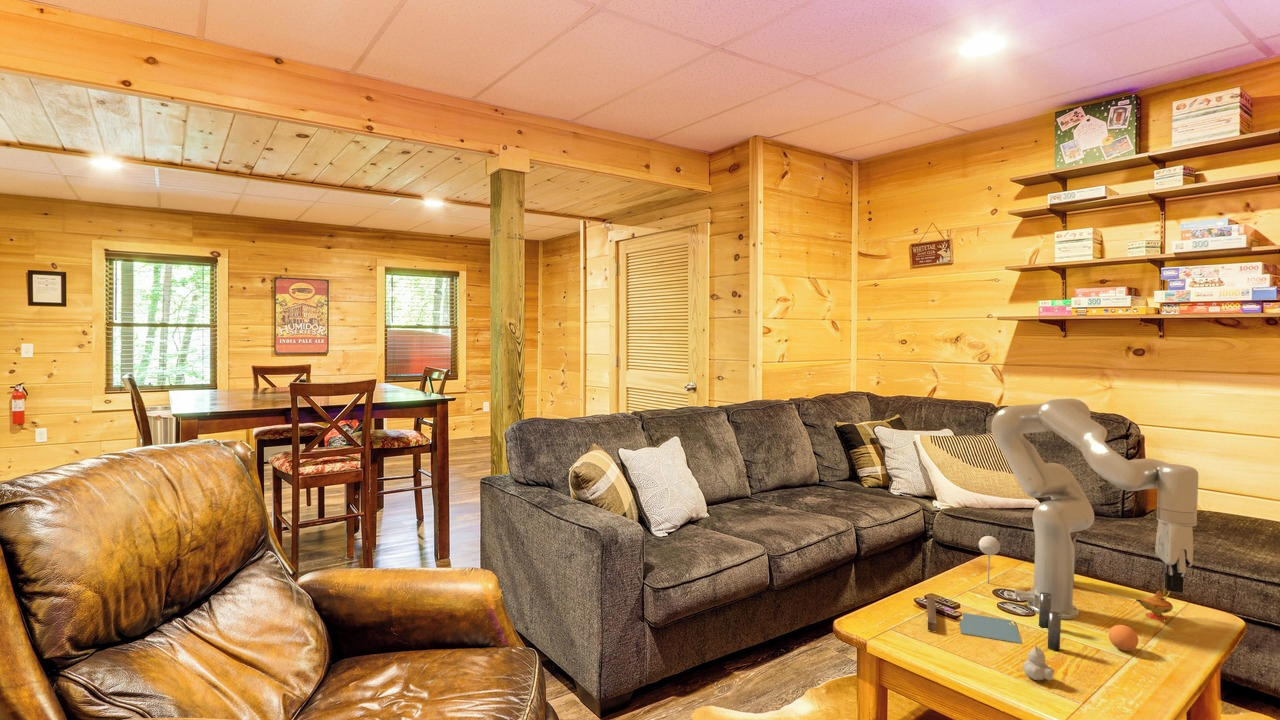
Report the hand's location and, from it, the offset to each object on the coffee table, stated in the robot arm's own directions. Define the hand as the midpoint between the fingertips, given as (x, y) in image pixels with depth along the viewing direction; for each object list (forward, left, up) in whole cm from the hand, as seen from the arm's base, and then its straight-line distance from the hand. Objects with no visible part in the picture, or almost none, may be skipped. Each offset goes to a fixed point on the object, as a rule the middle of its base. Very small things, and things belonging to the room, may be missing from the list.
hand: (1173, 590), depth 161 cm
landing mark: (-40, 0, -17) cm, 43 cm away
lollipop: (-37, +35, -17) cm, 53 cm away
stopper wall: (-54, 0, -17) cm, 56 cm away
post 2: (-26, -6, -17) cm, 31 cm away
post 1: (-26, +7, -17) cm, 31 cm away
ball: (-10, 0, -14) cm, 17 cm away
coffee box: (-17, +45, -17) cm, 51 cm away
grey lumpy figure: (-32, -25, -17) cm, 44 cm away
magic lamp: (+3, +25, -17) cm, 31 cm away
